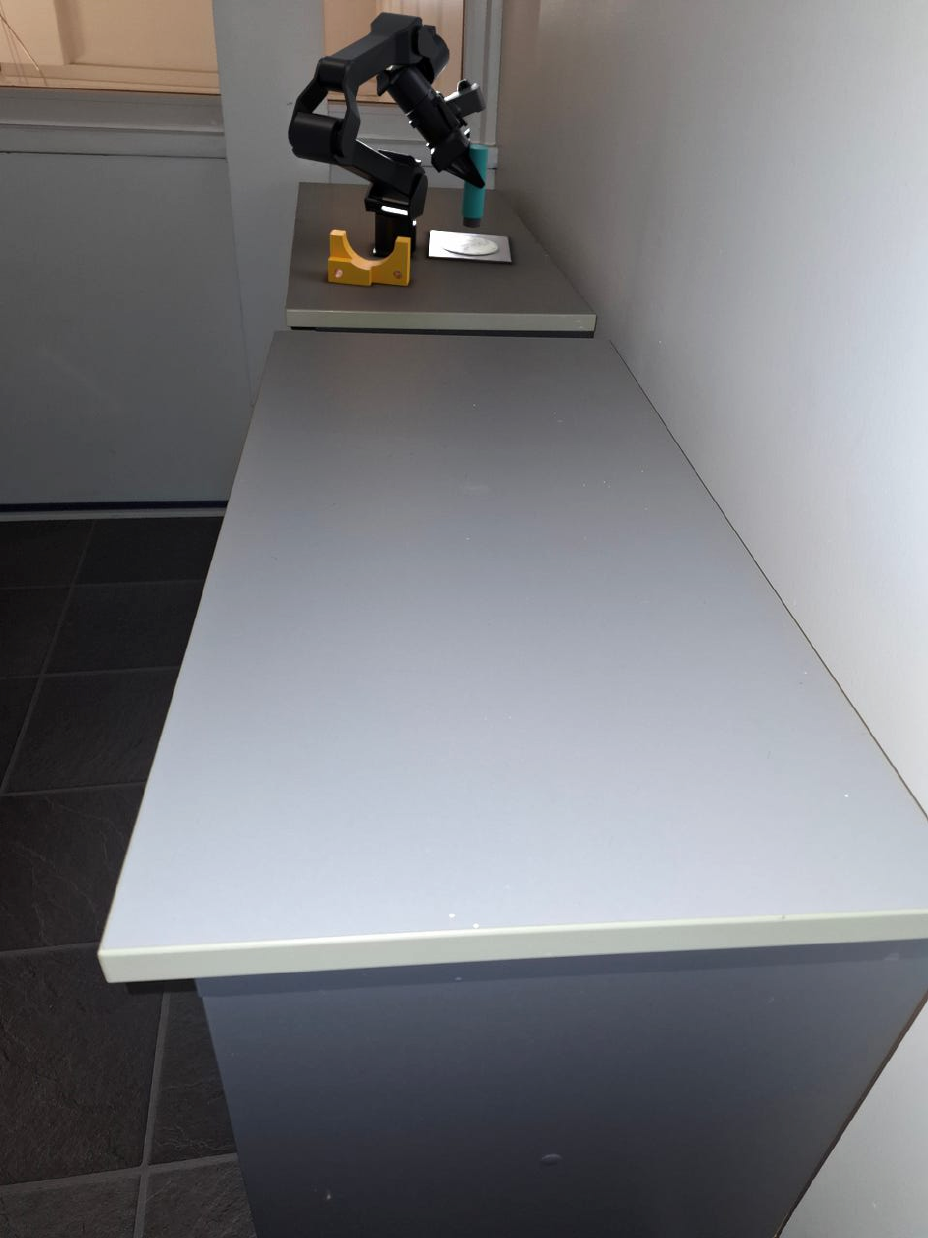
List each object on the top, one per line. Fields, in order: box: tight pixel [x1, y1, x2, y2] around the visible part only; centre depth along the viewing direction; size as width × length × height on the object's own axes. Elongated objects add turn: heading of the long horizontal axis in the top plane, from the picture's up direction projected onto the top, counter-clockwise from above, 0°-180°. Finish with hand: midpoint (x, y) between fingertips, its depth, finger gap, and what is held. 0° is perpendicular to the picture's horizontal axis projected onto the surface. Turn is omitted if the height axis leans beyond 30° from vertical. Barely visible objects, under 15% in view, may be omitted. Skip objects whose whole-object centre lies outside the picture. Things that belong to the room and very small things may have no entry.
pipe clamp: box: [327, 229, 411, 287], centre depth 132 cm, size 12×4×6 cm, turn 84°
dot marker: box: [461, 143, 490, 229], centre depth 142 cm, size 4×4×12 cm
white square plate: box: [428, 230, 512, 265], centre depth 150 cm, size 14×14×1 cm
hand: (483, 183), depth 141 cm, fingers closed on dot marker, 3 cm apart
